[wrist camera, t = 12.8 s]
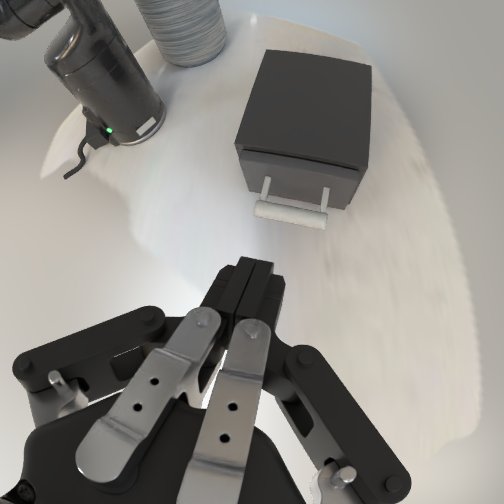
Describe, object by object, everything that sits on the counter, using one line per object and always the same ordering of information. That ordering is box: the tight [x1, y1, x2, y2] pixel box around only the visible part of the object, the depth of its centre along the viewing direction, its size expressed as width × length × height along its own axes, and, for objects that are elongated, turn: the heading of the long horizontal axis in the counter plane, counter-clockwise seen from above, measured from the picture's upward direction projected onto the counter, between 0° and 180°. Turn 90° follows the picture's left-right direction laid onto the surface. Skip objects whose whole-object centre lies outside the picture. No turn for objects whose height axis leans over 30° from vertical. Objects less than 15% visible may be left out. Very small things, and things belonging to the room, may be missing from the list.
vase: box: [134, 0, 227, 67], centre depth 32 cm, size 12×12×23 cm
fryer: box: [234, 50, 372, 204], centre depth 32 cm, size 15×13×10 cm
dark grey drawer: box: [239, 150, 359, 230], centre depth 31 cm, size 18×11×8 cm, turn 166°
